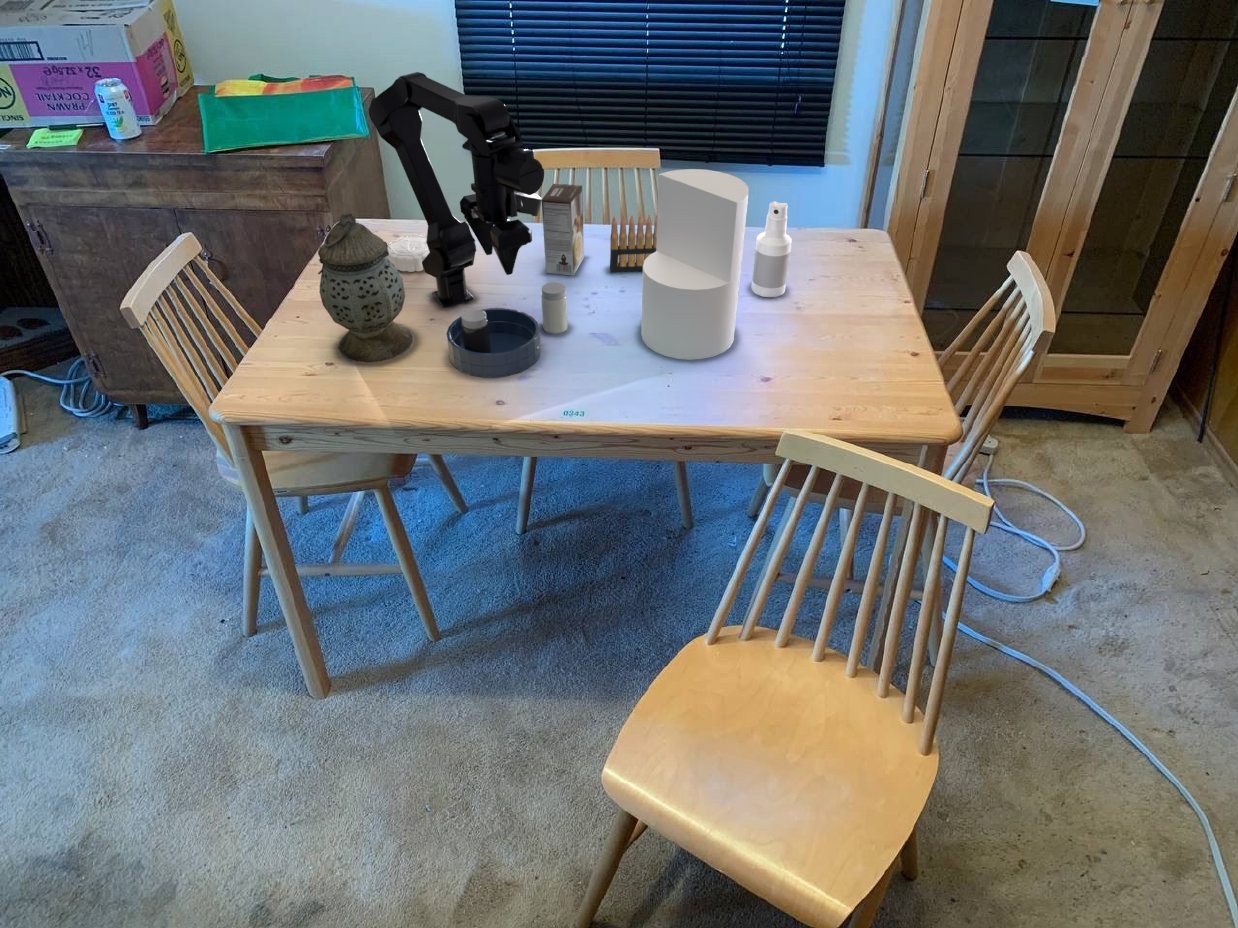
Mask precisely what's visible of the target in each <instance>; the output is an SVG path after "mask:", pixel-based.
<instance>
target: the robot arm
mask: <svg viewBox="0 0 1238 928" xmlns="http://www.w3.org/2000/svg"><path fill="white" fill-rule="evenodd" d="M422 109H425V110H426V111H429V112H431V113H433V114H435V115H437V116H439V117H441V118H444V119H445V120H447V121H450V122H451V123H453V124H454V125H455V127H456V130H457V132H458V133H459V134H460V135H461V136H462V137H464V138H466V139H467V140H466V141H465V142H463V143H462V144H461V147H462V149H463V150H466V151H469V152H470V154H471V163H472V171H473V172H472V173H473V181H474V182H473V183H470V189H471V191H473V193H472V194H468V195H464V196H462V197H461V199H460V201H459V207H460V213H461V214H463V218H464V221H462V222H461V221H460V220H459V219H458V218H456V217H455V216H454V214H453V213H452V211H451V208H450V206H449V204H448V201H447V199H446V197H445V194H444V192H443V189H442V187H441V185H440V181H439V180H438V177H437V175H436V172H435V170H434V168H433V165H432V163H431V160H430V157H428V153H427V151H426V149H425V147H424V144H423V141H422V139H421V137H422V129H423V119H422V116H421V113H420V112H421V110H422ZM368 116H369V119H370V121H371V123H372V124H373V125H374V128H375V129H376V131H377V133H378V135H379V137H380V138H381V139H382V140H383V141H385V142H386V143H387V144H388V145H390V146H391V147H392V148H394V151H395V152H396V154H397V156H398V159H399V161H400V163H401V166H402V168H403V170H404V172H405V175H406V177H407V179H408V182H409V184H410V187H411V189H412V191H413V194H414V196H415V198H416V200H417V202H418V205H419V207H420V210H421V212H422V214H423V216H424V219H425V221H426V224H427V233H426V236H427V241H426V242H427V246H428V249H429V252H430V253H429V254H428V255H427V256H426V258H425V259H424V260H423V261H422V265H423V268H424V270H423V271H424V273H425V274H427V275H428V276H431V277H433V278H435V282H436V289H437V290H435V291H432V296H433V297H434V298H435V300H436V301H437V302H438V303H439V304H440V306H441V307H443V308H448V307H451V306H455V305H460V304H464V303H468V302H472V301H474V296H473V295H472V294H471V293H470V292H469V290H468V289H467V279H466V272H465V269H466V268H468V267H472V266H473V265H474V262H475V256H476V252H477V244H476V240H477V242H478V243H479V244H480V246H481V248H482V250H483V252H484V253H485V255H486V256H490V255H492V254H493V250H494V252H495V254H496V256H497V259H498V261H499V262H500V265H501V267H502V269H503V271H504V273H505V275H506V276H510V275H512V274H513V272H514V268H515V264H516V260H517V257H518V253H519V251H520V249H521V248H522V247H523V246H527V245H528V244H530V243H532V242H533V232H532V231H533V230H532V229H531V228H529V227H528V226H527V225H526V224H525V223H523V222H522V220H520V219H513V220H510V219H509V218H515V217H518V213H519V214H525V215H530V216H532V217H538V215H539V211H540V208H541V205H542V199H543V198H542V197H541V196H539V195H538V194H536V193H538V191H539V190H540V189H541V187H542V185H543V182H544V179H545V169H544V168H543V165H542V163H541V162H540V161H539V160H538V159H537V158H535V152H534V151H533V150H532V149H528V148H527V149H526V148H525V149H524V148H521V147H519V146H522V145H524V140H523V138H522V136H521V132H520V130H519V128H518V127H517V126H516V124H515V122H514V120H513V118H512V116H511V114H510V112H509V110H508V109H507V107H506V105H505V103H504V101H502V100H500V99H499V98H496V97H490V96H485V95H483V96H482V95H480V96H479V95H477V96H475V95H474V96H473V95H466V94H464V93H462V92H460V91H458V90H456V89H454V88H452V87H450V86H447V85H446V84H443V83H441V82H438V81H436V80H434V79H432V78H430V77H428V76H427V75H426V74H425V73H424V72H420V71H415V72H411V73H407V74H403V75H399V76H398V77H397V78H396V79H395V80H394V82H393V83H392V84H391V85H390V86H388V87H387V88H386V89H385V90H383V91H382V92H381V93H379V94H378V95H377V96H376V97H373V98H372V99H371V100H370V105H369V108H368ZM504 135H505V136H504ZM501 136H504V137H502V138H499V139H496V138H498V137H501ZM492 139H495V140H493V141H491V140H492ZM472 232H473V233H474V236H475V237H474V236H473V234H472ZM475 238H476V239H475Z"/></svg>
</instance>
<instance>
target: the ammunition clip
mask: <svg viewBox="0 0 1238 928" xmlns="http://www.w3.org/2000/svg"><path fill="white" fill-rule="evenodd" d="M646 217H647V218H646V222H645V232H644V220H643V216H642V215H641V214H640V215H639V217H638V219H637V227H636V225H635V218H634V215H630V218H629V221H628V222H629V223H628V232H627V221H626V218H625V215H622V216H621V219H620V224H619V229H618V219H617V217H616V216H615V215H614V216H613V217H612V220H611V229H610V236H609V237H610V239H609V240H610V244H609V245H610V247H609V249H610V250H609V251H610V254H609V272H610V273H613V274H614V273H640V272H642V273H643V264H644V260H645V259H646V258H647V257H648V256H649V255H651V254H652V253H654V252H656V244H657V215H656V216H655V220H654V225H653V223H652V217H651V215H650V214H648V215H647V216H646ZM652 225H653V226H652ZM652 227H653V228H652ZM618 230H619V231H618ZM618 232H619V233H618ZM627 233H628V234H627Z"/></svg>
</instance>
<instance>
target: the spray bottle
mask: <svg viewBox="0 0 1238 928" xmlns="http://www.w3.org/2000/svg"><path fill="white" fill-rule="evenodd" d="M788 206H789V204H788V203H787V202H784V203H783V202H778V201H775V200H773V201H771V202H769V206H768V207H769V208H768V212H767V214H766V222H765V227H764V232H760V234H758V235H757V237H756V242H755V250H754V251H755V253H754V260H753V267H752V268H753V269H752V276H751V277H752V278H751V286H750V287H751V291H752V292H753V293H754V294H755V295H757V296H759V297H763V298H776V297H780V296H782V295H783V294H784V293H785V291H786V286H787V280H788V271H789V265H790V257H791V251H792V244H793V243H792V242H793V239H792V237H791V236H790V235H789V234H787V223H788Z"/></svg>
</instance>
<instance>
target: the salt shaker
mask: <svg viewBox="0 0 1238 928" xmlns="http://www.w3.org/2000/svg"><path fill="white" fill-rule="evenodd" d="M540 299H541V316H542V329H543V331H545V333H549V334H561V333H563V332H565V331H566V330H568V327H569V326H568V305H567V293H566V286H565V285H564V284H562V283H560V282H548V283H545V284H543V285H542V286H541V295H540Z"/></svg>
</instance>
